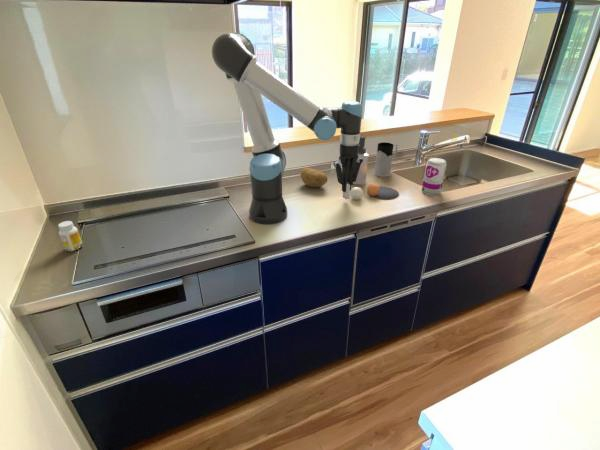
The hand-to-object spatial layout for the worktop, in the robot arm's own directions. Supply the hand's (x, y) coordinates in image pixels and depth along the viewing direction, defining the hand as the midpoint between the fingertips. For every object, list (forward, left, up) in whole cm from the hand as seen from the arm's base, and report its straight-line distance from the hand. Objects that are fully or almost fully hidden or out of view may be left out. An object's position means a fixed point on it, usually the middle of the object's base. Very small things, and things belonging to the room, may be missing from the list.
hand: (345, 197), depth 147 cm
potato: (-4, +21, -2) cm, 21 cm away
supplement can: (+40, -9, -2) cm, 41 cm away
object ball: (+14, 0, +1) cm, 14 cm away
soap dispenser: (+18, +17, -2) cm, 25 cm away
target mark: (+20, 0, -2) cm, 20 cm away
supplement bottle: (-102, +12, -2) cm, 103 cm away
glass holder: (+38, +20, -2) cm, 43 cm away
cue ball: (+5, 0, +1) cm, 6 cm away
